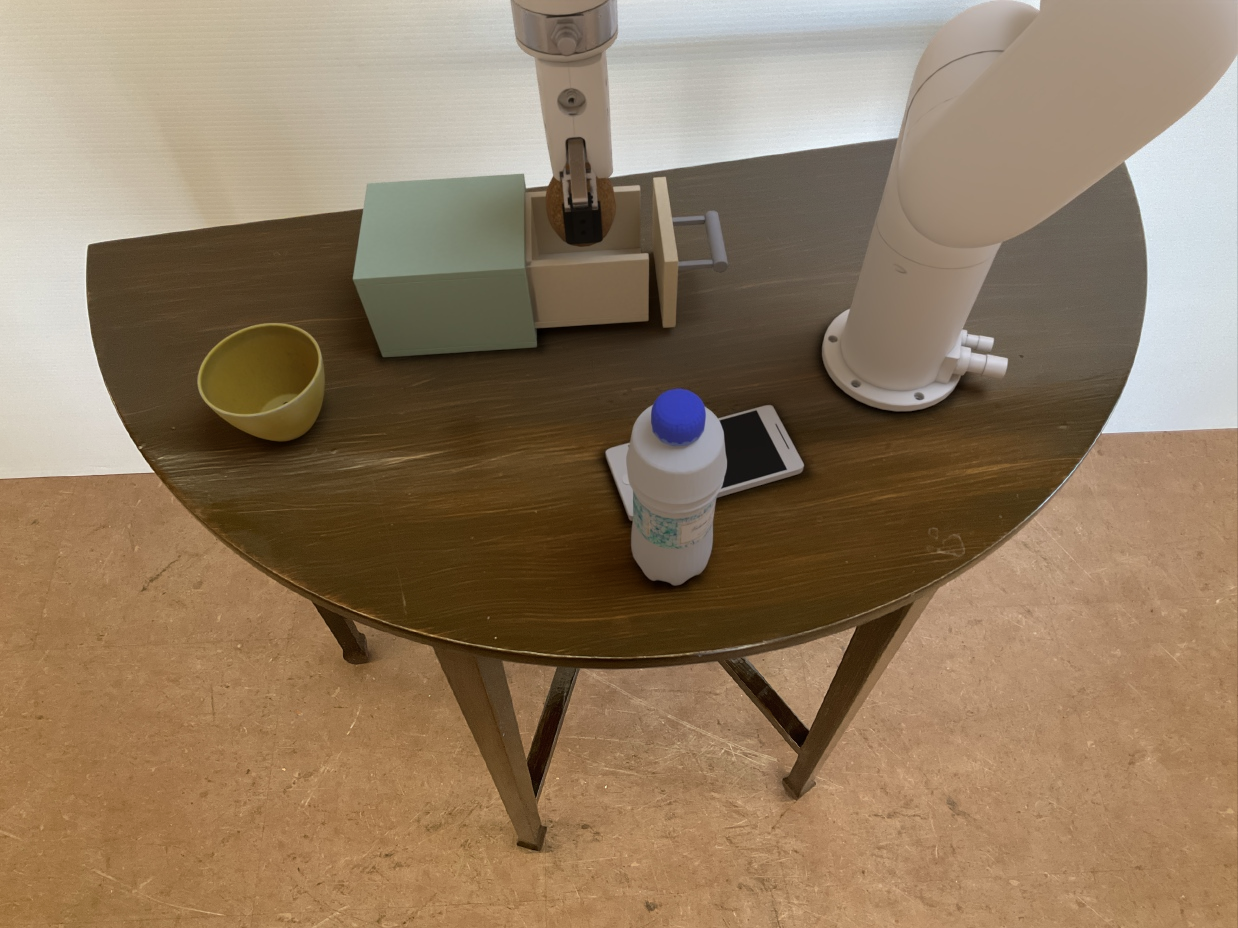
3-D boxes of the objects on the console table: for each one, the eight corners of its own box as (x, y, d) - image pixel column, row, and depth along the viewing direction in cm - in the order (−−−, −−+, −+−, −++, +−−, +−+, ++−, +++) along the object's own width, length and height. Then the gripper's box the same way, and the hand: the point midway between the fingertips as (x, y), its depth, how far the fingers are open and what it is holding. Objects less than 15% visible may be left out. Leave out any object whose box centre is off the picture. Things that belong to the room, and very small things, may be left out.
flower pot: (367, 417, 77) (344, 365, 71) (271, 486, 73) (238, 437, 67) (305, 358, 81) (278, 305, 75) (210, 420, 77) (174, 369, 71)
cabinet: (535, 255, 88) (524, 173, 80) (537, 347, 81) (524, 268, 73) (393, 264, 88) (366, 183, 79) (382, 357, 81) (352, 279, 72)
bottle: (681, 610, 66) (694, 466, 49) (611, 564, 68) (602, 411, 51) (729, 548, 69) (756, 392, 52) (661, 506, 71) (666, 343, 54)
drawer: (711, 241, 87) (717, 173, 80) (727, 323, 81) (734, 257, 74) (531, 253, 87) (522, 185, 80) (532, 336, 81) (522, 271, 74)
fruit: (578, 274, 76) (571, 200, 69) (536, 238, 79) (525, 165, 72) (631, 241, 78) (629, 167, 71) (589, 208, 81) (583, 134, 74)
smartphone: (604, 454, 74) (604, 448, 73) (770, 409, 76) (771, 402, 75) (630, 523, 70) (630, 517, 69) (803, 473, 72) (805, 466, 71)
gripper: (626, 79, 56) (632, 280, 71) (610, -49, 66) (618, 152, 81) (512, 87, 56) (542, 287, 71) (513, -42, 66) (539, 157, 81)
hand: (582, 213), depth 76 cm, fingers closed on fruit, 6 cm apart
